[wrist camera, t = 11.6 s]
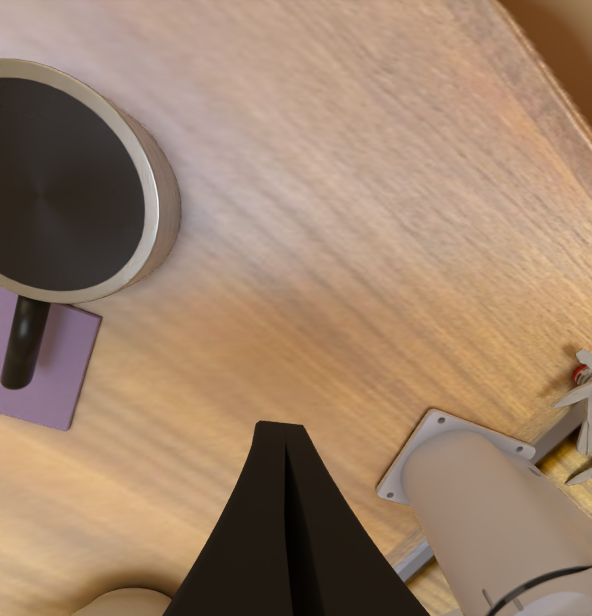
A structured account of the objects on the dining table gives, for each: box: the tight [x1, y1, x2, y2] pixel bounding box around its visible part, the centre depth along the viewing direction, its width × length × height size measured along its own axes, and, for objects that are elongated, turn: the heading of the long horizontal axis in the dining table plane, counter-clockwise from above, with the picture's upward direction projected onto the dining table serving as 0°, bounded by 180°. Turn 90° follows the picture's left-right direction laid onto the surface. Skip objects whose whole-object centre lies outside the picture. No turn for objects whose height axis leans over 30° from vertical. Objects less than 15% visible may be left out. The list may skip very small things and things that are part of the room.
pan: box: [0, 59, 181, 390], centre depth 14 cm, size 9×15×3 cm, turn 155°
